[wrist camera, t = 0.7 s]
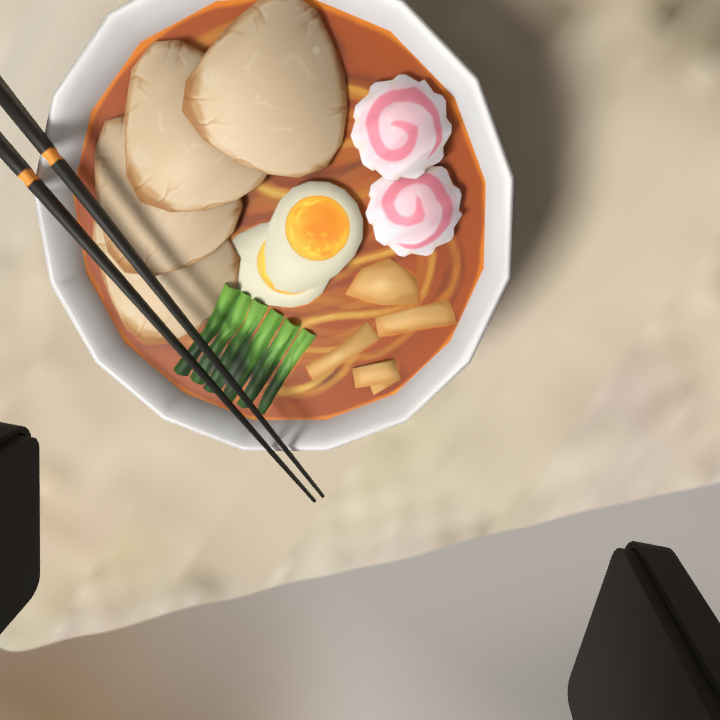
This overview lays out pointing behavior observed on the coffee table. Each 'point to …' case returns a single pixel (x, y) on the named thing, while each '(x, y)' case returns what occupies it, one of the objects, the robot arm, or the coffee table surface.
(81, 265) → the ramen bowl
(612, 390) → the coffee table surface
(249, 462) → the coffee table surface
